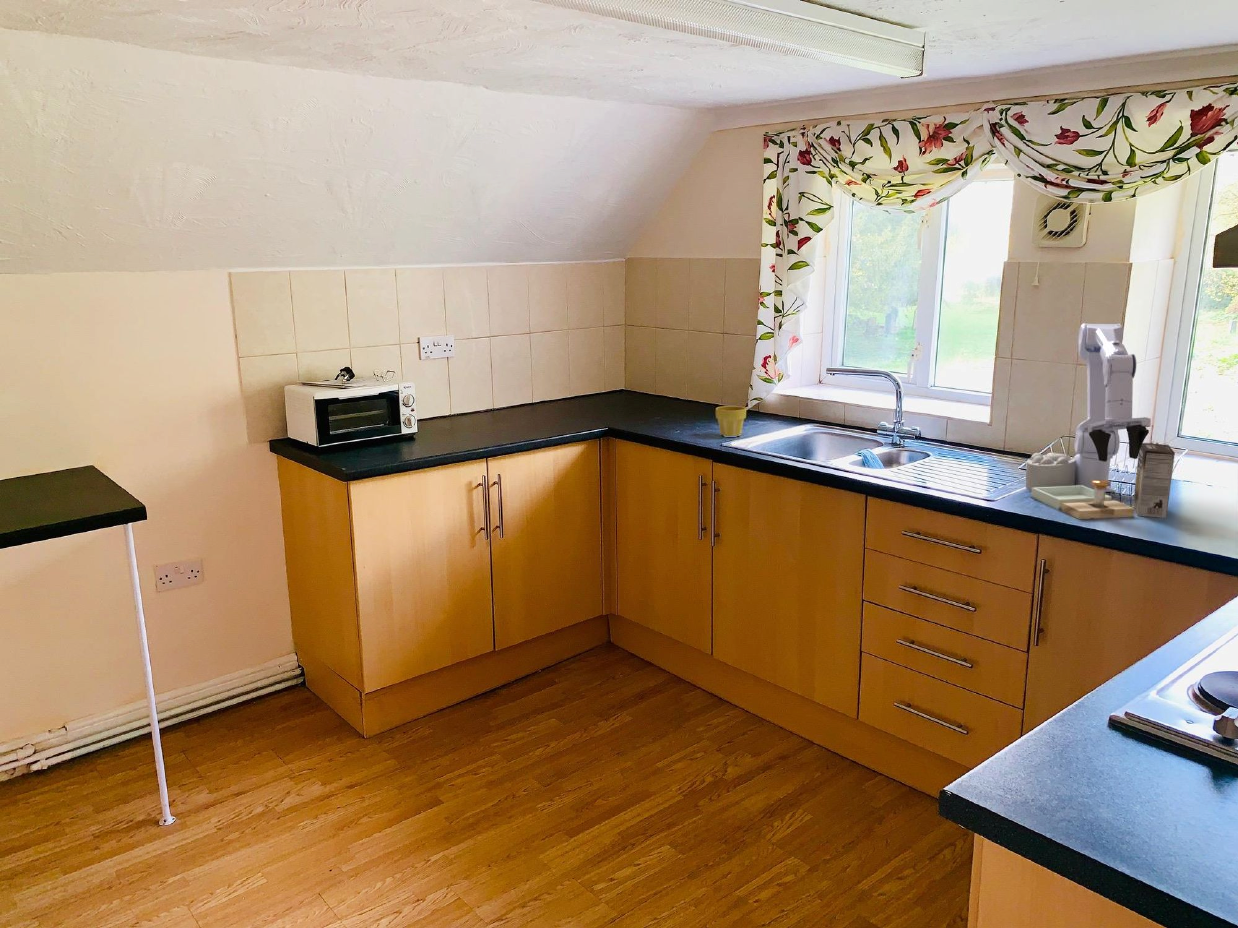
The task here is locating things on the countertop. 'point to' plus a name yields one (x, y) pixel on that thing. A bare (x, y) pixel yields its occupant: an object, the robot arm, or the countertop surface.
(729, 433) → the plant pot
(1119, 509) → the tan flat rectangular block
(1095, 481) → the pin
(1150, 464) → the coffee box
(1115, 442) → the robot arm
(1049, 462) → the lumpy-topped squat cylinder
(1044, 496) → the tray
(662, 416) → the countertop surface
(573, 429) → the countertop surface
